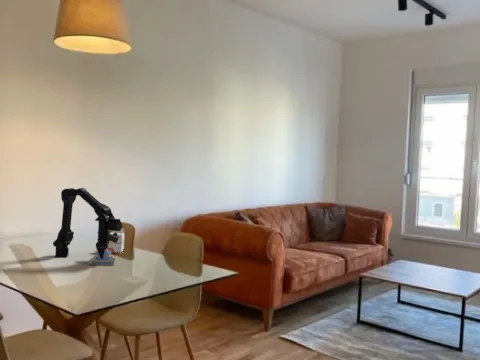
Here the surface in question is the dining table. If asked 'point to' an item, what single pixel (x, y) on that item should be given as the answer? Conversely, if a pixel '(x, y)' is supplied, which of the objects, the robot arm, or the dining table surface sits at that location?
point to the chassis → (102, 261)
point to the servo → (104, 254)
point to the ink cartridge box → (120, 243)
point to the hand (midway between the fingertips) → (102, 256)
